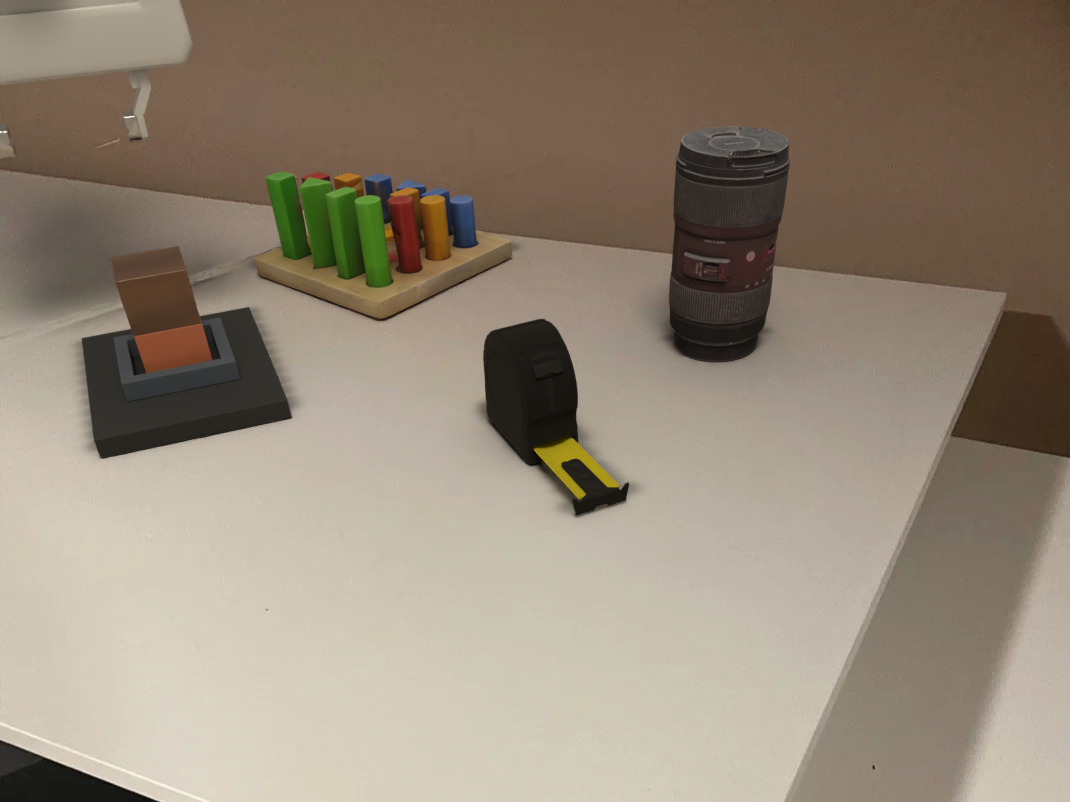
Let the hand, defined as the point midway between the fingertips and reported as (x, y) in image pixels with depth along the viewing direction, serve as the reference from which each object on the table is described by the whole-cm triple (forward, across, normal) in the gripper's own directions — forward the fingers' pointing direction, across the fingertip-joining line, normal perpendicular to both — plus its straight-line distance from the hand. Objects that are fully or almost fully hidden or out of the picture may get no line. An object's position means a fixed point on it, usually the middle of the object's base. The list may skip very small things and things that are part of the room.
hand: (73, 147), depth 75 cm
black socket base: (+15, -3, +8) cm, 18 cm away
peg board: (+15, -24, -8) cm, 29 cm away
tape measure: (+15, -26, +31) cm, 43 cm away
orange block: (+14, -3, +8) cm, 16 cm away
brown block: (+10, -3, +8) cm, 13 cm away
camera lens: (+15, -45, +20) cm, 51 cm away
